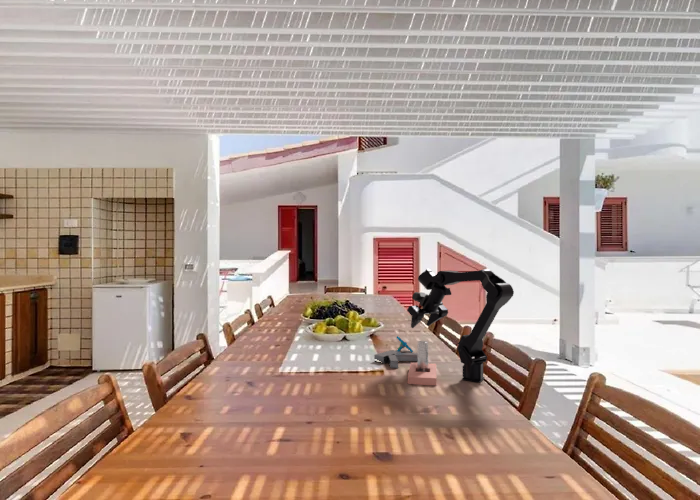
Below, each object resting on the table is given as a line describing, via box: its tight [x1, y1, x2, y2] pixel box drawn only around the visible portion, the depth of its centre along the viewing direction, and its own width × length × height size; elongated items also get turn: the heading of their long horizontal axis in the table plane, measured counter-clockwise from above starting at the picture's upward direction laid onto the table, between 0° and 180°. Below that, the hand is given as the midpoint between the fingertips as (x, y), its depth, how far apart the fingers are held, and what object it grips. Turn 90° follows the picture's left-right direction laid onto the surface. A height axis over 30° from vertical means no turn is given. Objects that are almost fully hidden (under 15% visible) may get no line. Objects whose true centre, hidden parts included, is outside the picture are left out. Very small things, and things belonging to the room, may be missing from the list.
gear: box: [396, 335, 414, 353], centre depth 206 cm, size 11×6×10 cm
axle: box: [416, 340, 429, 372], centre depth 167 cm, size 4×4×13 cm
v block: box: [373, 349, 417, 369], centre depth 189 cm, size 13×18×3 cm
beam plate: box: [407, 362, 437, 386], centre depth 167 cm, size 20×10×2 cm, turn 169°
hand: (419, 326), depth 186 cm, fingers open, 9 cm apart
